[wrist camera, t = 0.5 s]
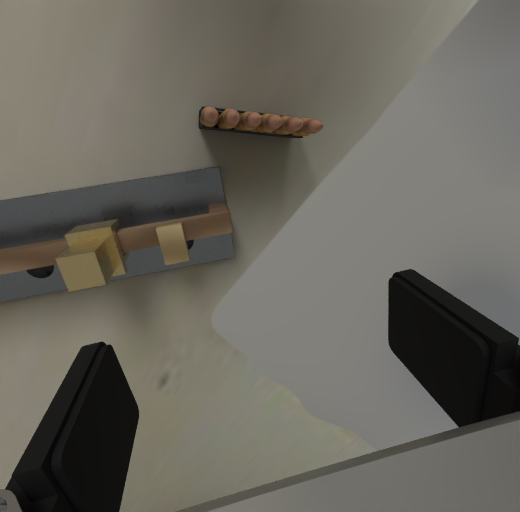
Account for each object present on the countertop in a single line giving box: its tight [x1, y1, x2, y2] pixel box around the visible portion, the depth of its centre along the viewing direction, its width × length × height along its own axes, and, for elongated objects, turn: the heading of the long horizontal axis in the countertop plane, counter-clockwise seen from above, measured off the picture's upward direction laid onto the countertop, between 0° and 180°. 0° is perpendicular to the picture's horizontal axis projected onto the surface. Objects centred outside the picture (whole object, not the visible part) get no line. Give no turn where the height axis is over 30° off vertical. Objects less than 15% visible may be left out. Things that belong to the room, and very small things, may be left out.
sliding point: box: [55, 219, 130, 292], centre depth 31 cm, size 5×4×11 cm
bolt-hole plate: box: [0, 166, 235, 302], centre depth 36 cm, size 11×30×1 cm, turn 98°
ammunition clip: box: [199, 106, 323, 138], centre depth 30 cm, size 11×2×12 cm, turn 85°
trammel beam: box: [0, 202, 233, 275], centre depth 33 cm, size 4×30×7 cm, turn 98°
